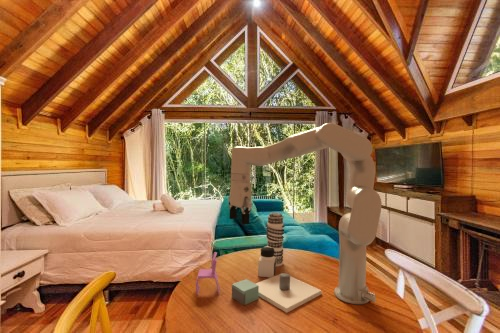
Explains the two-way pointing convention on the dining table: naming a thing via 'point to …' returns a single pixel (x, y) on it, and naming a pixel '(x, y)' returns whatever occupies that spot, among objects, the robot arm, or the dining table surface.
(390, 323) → the dining table surface
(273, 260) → the medicine bottle
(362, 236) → the robot arm
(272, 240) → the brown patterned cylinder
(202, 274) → the toy chair
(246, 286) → the sage green cube
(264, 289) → the post block
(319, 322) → the dining table surface
